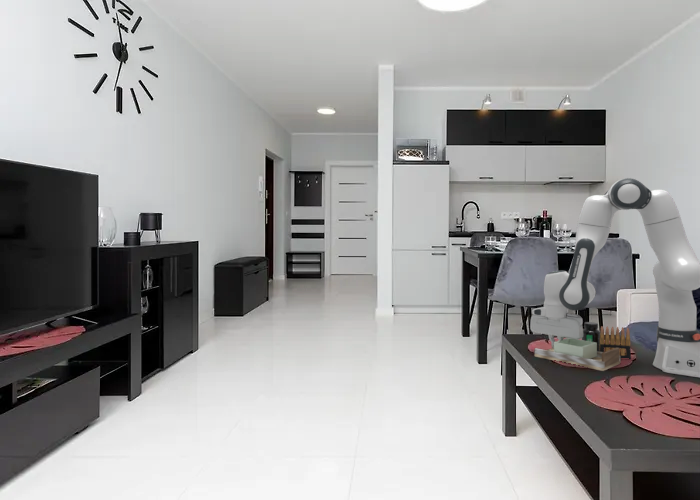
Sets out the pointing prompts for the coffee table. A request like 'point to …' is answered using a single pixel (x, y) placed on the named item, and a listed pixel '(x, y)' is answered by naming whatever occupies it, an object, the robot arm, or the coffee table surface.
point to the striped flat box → (599, 362)
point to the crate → (576, 348)
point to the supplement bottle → (591, 333)
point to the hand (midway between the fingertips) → (556, 346)
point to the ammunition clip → (616, 342)
